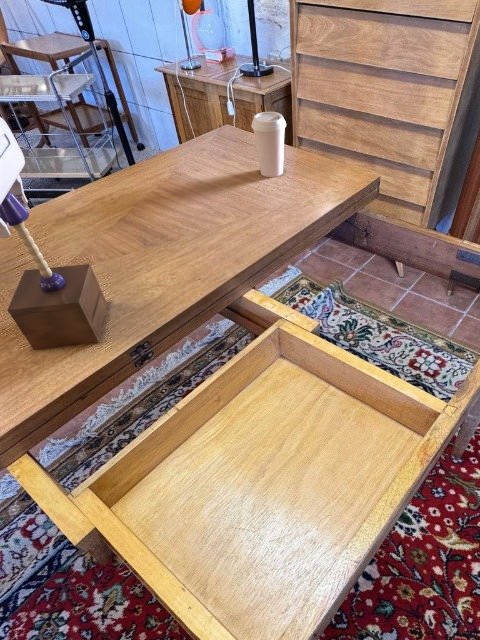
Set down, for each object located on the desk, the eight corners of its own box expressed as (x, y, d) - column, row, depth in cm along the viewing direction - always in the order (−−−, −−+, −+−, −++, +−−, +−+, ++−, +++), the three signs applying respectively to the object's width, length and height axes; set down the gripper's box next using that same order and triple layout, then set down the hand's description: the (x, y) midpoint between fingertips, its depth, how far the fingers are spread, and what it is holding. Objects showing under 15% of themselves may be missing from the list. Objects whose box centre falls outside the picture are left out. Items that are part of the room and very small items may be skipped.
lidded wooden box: (35, 352, 83) (6, 309, 75) (49, 312, 91) (24, 270, 83) (100, 344, 84) (78, 302, 76) (108, 305, 92) (89, 263, 84)
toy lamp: (52, 295, 78) (1, 202, 65) (31, 290, 79) (-23, 198, 66) (70, 280, 81) (24, 188, 68) (49, 275, 82) (0, 184, 69)
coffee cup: (264, 184, 126) (260, 125, 115) (250, 171, 132) (244, 114, 120) (293, 176, 129) (292, 118, 118) (278, 164, 134) (275, 108, 123)
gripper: (-36, 99, 66) (11, 191, 77) (-94, 154, 53) (-27, 256, 64) (8, 96, 66) (49, 189, 77) (-39, 151, 53) (18, 253, 64)
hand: (14, 220), depth 70 cm, fingers open, 8 cm apart
